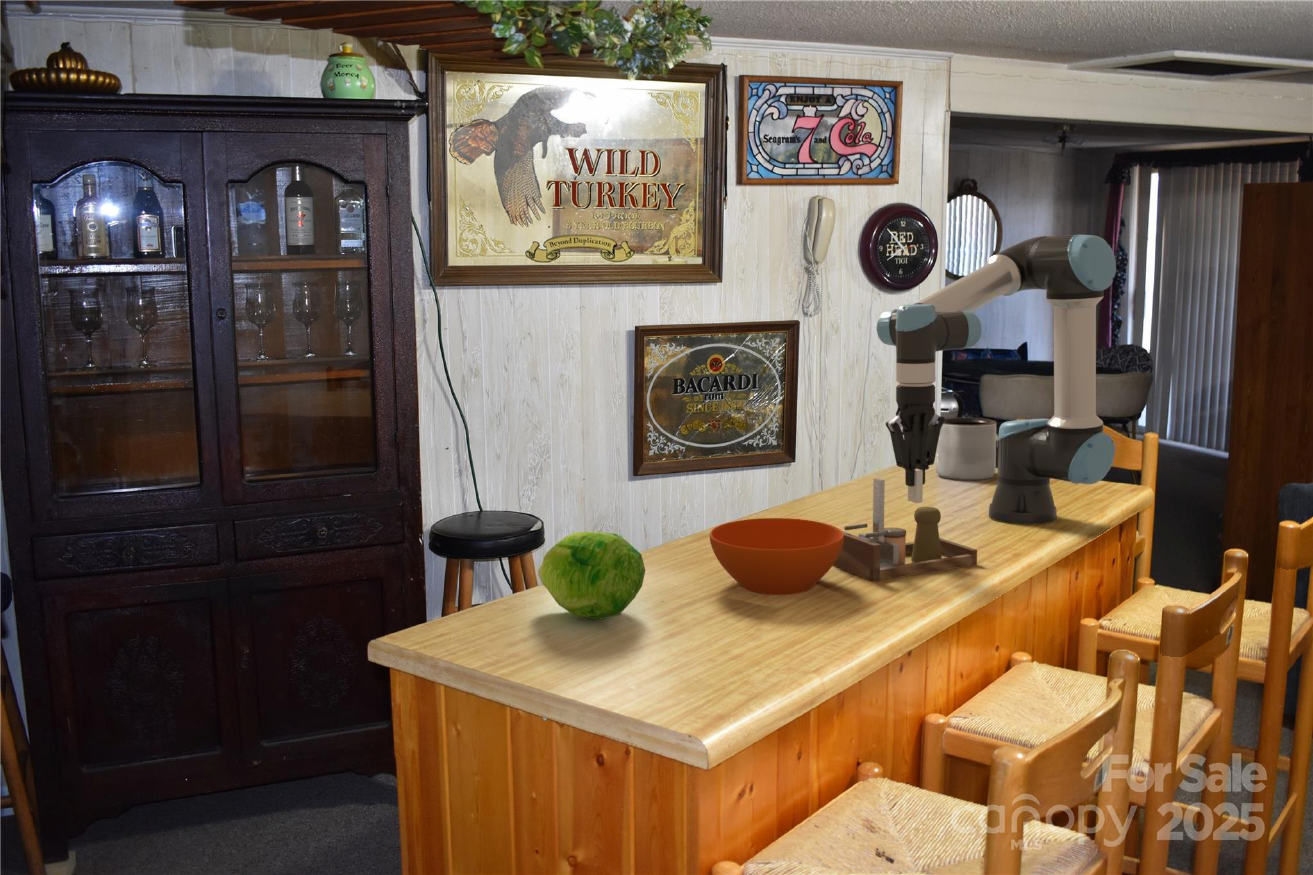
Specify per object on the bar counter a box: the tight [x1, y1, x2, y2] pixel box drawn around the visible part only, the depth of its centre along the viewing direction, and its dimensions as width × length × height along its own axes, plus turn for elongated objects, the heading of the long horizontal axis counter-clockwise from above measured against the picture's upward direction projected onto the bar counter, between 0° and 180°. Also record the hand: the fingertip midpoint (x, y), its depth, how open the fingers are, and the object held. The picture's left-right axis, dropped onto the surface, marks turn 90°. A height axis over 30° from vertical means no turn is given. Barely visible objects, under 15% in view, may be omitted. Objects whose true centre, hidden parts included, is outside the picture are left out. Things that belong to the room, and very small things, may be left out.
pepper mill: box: [910, 506, 943, 563], centre depth 231 cm, size 6×6×11 cm
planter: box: [935, 416, 997, 481], centre depth 319 cm, size 16×16×16 cm
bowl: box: [709, 517, 844, 596], centre depth 216 cm, size 25×25×10 cm
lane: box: [833, 523, 978, 582], centre depth 229 cm, size 25×14×8 cm, turn 115°
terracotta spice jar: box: [884, 526, 907, 565], centre depth 228 cm, size 5×5×7 cm
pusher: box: [858, 478, 899, 568], centre depth 225 cm, size 1×11×18 cm, turn 25°
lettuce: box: [537, 531, 646, 620], centre depth 199 cm, size 17×20×15 cm
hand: (915, 501), depth 229 cm, fingers closed
